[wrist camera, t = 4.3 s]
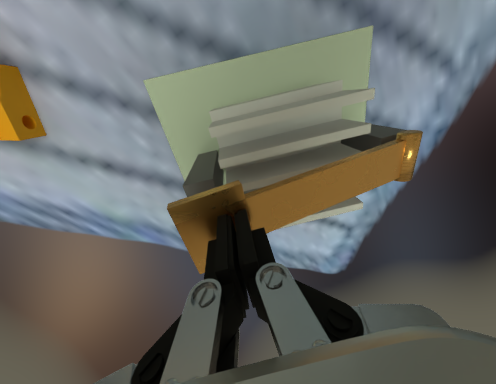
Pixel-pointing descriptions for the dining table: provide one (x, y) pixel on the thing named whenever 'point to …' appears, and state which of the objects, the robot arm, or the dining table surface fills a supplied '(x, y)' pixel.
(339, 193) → the strap
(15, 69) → the pipe clamp
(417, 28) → the dining table surface
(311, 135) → the board
